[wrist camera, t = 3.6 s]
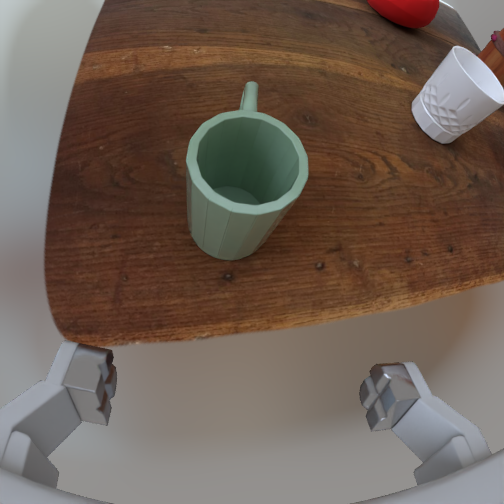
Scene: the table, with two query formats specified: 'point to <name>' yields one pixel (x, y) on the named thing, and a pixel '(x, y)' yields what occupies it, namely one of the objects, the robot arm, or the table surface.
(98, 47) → the table surface
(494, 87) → the white cup
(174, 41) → the table surface
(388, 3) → the tomato
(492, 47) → the mug
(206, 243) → the enamel mug
